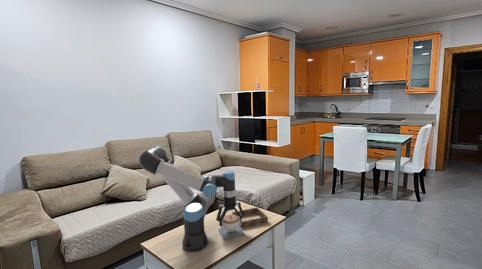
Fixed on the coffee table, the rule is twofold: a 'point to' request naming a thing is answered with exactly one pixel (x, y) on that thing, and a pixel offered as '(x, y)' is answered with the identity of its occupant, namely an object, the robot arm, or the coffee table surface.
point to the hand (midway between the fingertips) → (230, 228)
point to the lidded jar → (230, 222)
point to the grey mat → (231, 233)
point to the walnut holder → (252, 222)
